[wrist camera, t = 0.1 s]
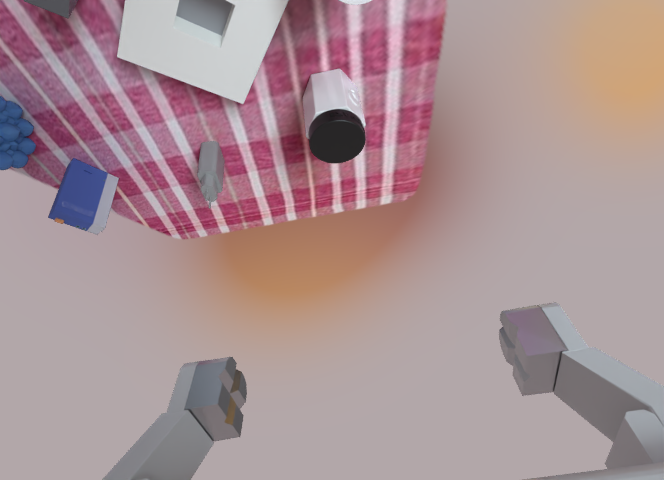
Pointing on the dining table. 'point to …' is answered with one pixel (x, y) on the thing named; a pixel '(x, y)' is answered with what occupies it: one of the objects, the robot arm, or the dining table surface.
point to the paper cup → (355, 1)
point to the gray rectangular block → (56, 6)
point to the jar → (333, 117)
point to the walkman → (84, 197)
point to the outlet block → (201, 40)
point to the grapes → (14, 136)
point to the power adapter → (211, 170)
